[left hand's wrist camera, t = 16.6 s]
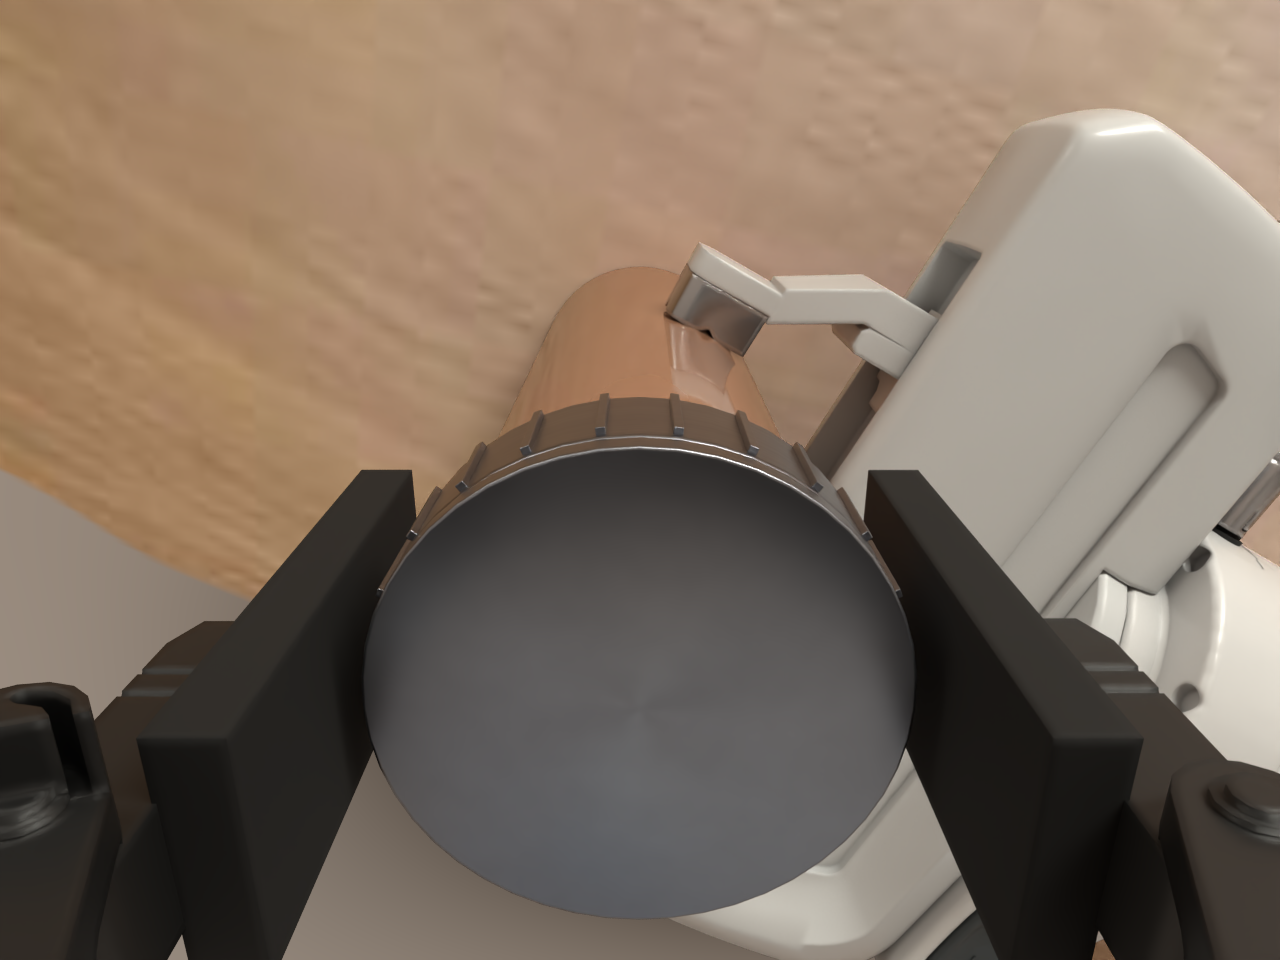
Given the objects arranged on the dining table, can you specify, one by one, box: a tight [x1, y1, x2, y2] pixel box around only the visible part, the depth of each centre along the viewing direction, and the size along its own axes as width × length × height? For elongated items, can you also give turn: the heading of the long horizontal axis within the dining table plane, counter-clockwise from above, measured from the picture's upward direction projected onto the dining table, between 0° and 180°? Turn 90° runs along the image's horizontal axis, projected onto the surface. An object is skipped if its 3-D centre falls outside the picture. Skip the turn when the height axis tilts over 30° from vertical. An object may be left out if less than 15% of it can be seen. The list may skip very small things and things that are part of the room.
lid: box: [361, 393, 917, 919], centre depth 11 cm, size 6×6×2 cm
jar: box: [498, 267, 781, 439], centre depth 18 cm, size 5×5×16 cm
